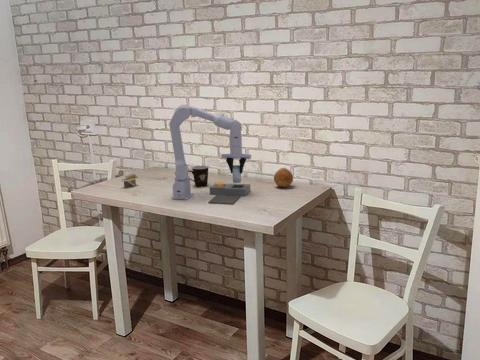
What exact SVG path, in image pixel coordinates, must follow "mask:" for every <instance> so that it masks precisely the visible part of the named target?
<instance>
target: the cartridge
mask: <svg viewBox="0 0 480 360" xmlns="http://www.w3.org/2000/svg"><path fill="white" fill-rule="evenodd" d="M232 169H233V173H232V184H241V183H242V174H240V164H233V166H232Z"/></svg>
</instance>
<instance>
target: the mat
mask: <svg viewBox="0 0 480 360" xmlns="http://www.w3.org/2000/svg"><path fill="white" fill-rule="evenodd" d="M240 198H241V196H226V195H214V197H212V198H211V199H210V200H209V201H207V203H208V204H214V205H216V204H218V205H232V206H233V205H234V204H235V203H237V201H238V200H239V199H240Z"/></svg>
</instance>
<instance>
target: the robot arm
mask: <svg viewBox="0 0 480 360" xmlns="http://www.w3.org/2000/svg"><path fill="white" fill-rule="evenodd" d="M190 117H191V118H196V117H199V118H200V119H203V120H206V121H210V122H213V124H214V126H215V127H219V128H221V129H223V130H226V131H229V152H230V153H221V157H220V158H221V159H225V162H226V164H227V166H228V167H229V170H230V174H233V169H232V166H233V165H234V159H235V160H236V159H239V160H238V161H239V162H238V163H239V165H240V174H241V175H242V174H243V173H244V166H245V163H246V162H247V160H251V159H252V154H250V153H249V154H248V153H247V154H246V153H243V148H242V147H243V141H242V140H243V139H242V130H243V126H242V124H241V123H240V121H238V120H237V119H234V117H231V118H230V117H228V116H225V114H223V113H221V114H219V113H218V114H215V115H214V114H213V113H211V112H208V111H205V110H203V109H200V108H198V107H195V106H188V105H187V104H181V105H179V106H178V107H177V109H175V111H174V113H173V115H172V117H171V119H170V121H169V124H168V125H169V130H170V135H171V136H170V138H171V142H172V149H173V155H174V163H175V171H174V175H175V176H174V183H173V184H172V197H171V200H188V199H190V198H191V197H192V196H194V195H195V193H192V192H191V180H190V179H191V177H190V176H189V172H188V171H190V169H189V166H188V165H187V163H186V158H185V153H184V147H183V141H182V140H183V139H182V134H181V128H180V126H181V125H182V124H183V122H184V121H186V120H189V118H190Z"/></svg>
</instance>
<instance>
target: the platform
mask: <svg viewBox="0 0 480 360" xmlns="http://www.w3.org/2000/svg"><path fill="white" fill-rule="evenodd" d="M138 179H139V177H138V176H137V175H136V174H129V175H126V176H125V177H124V178H123V179H121V180H120V181H121V182H123V188H124V189H126V188H127V189H128V188H131V187H136V186H137V184H136V183H137V182H136V180H138ZM130 186H131V187H130Z"/></svg>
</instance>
